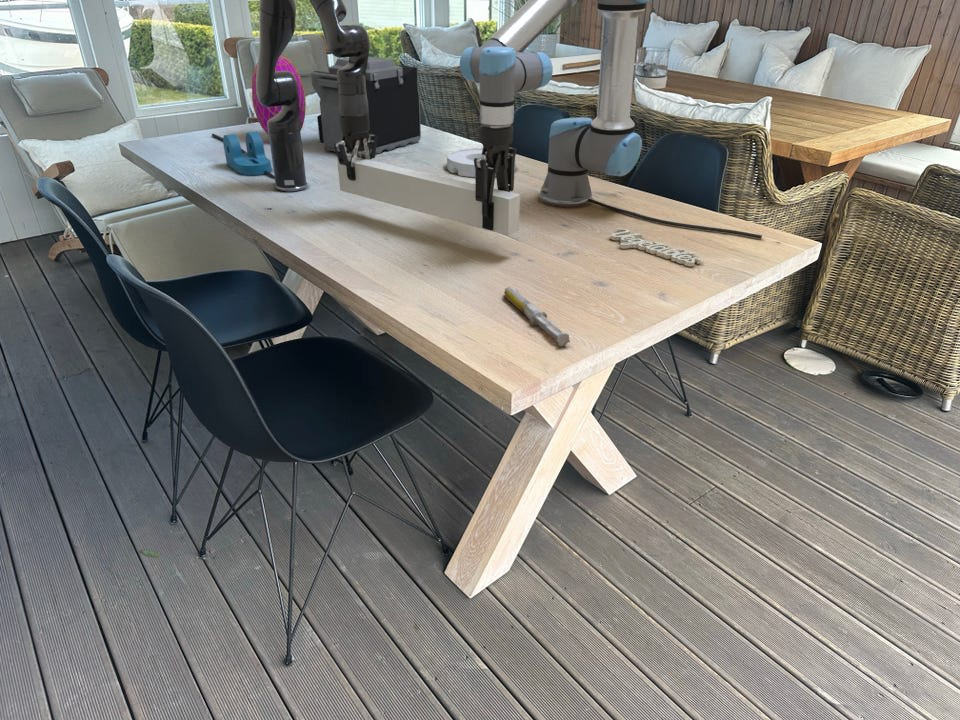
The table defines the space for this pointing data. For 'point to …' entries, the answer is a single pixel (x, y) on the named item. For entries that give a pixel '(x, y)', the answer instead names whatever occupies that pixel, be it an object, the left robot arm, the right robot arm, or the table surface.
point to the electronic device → (374, 103)
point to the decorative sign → (653, 247)
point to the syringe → (536, 316)
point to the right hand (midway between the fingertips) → (494, 225)
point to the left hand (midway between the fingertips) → (359, 177)
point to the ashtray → (464, 161)
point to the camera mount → (246, 154)
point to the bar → (429, 194)
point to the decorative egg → (269, 112)
